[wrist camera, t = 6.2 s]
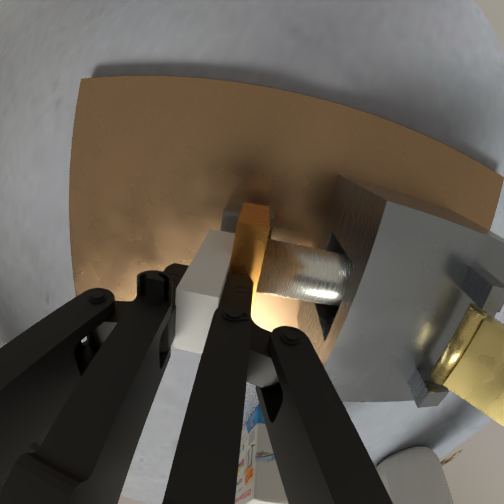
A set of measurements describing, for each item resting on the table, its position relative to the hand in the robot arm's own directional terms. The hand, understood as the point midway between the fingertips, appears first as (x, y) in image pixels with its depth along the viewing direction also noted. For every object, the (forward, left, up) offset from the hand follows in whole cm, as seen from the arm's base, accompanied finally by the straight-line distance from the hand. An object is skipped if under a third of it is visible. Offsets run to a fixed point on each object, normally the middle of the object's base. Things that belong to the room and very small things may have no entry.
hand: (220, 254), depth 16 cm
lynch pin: (+7, 0, -1) cm, 8 cm away
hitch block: (+4, 0, -5) cm, 6 cm away
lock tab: (+16, 0, +8) cm, 18 cm away
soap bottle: (+34, -34, -5) cm, 48 cm away
